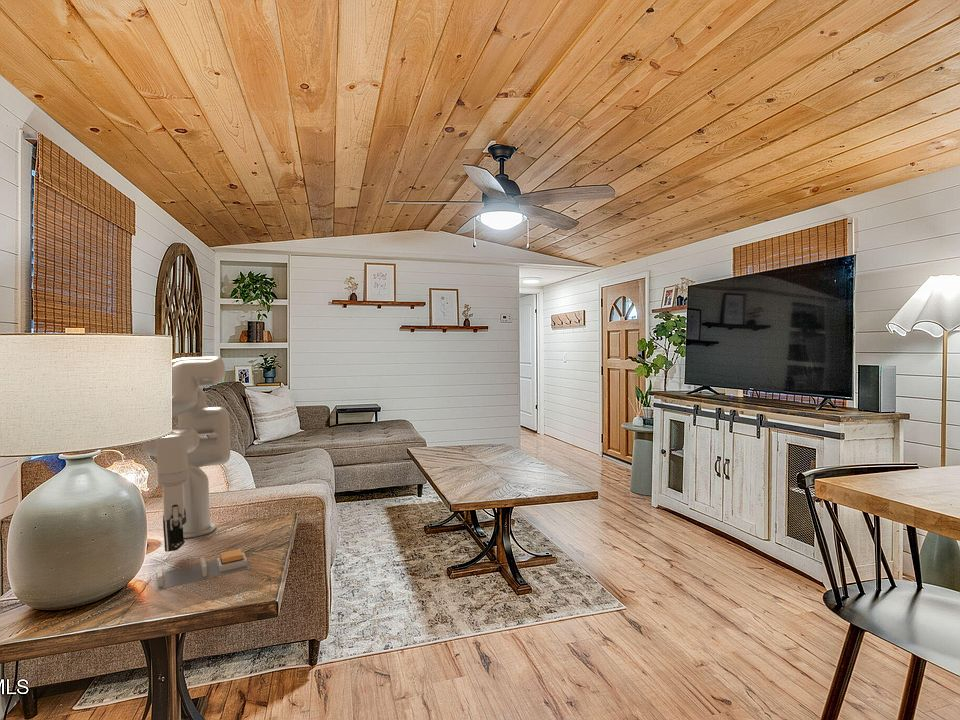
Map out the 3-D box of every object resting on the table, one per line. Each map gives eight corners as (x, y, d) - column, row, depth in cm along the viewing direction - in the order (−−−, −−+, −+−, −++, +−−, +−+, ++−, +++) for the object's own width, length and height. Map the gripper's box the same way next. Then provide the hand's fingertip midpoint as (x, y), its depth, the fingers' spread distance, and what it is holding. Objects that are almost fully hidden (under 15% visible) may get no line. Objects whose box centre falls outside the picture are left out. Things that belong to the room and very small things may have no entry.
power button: (221, 557, 143) (220, 552, 143) (240, 552, 146) (240, 548, 146) (222, 563, 139) (222, 558, 139) (242, 558, 142) (242, 554, 142)
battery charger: (178, 552, 143) (176, 512, 143) (164, 553, 143) (161, 513, 142) (189, 542, 150) (187, 503, 149) (175, 542, 150) (173, 504, 149)
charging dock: (156, 578, 138) (155, 564, 138) (245, 558, 150) (244, 545, 150) (155, 596, 128) (155, 580, 128) (251, 573, 139) (250, 559, 139)
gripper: (157, 472, 151) (161, 530, 152) (157, 487, 136) (161, 552, 137) (186, 468, 155) (189, 525, 156) (190, 482, 140) (193, 545, 141)
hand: (176, 537), depth 146 cm, fingers closed on battery charger, 7 cm apart
